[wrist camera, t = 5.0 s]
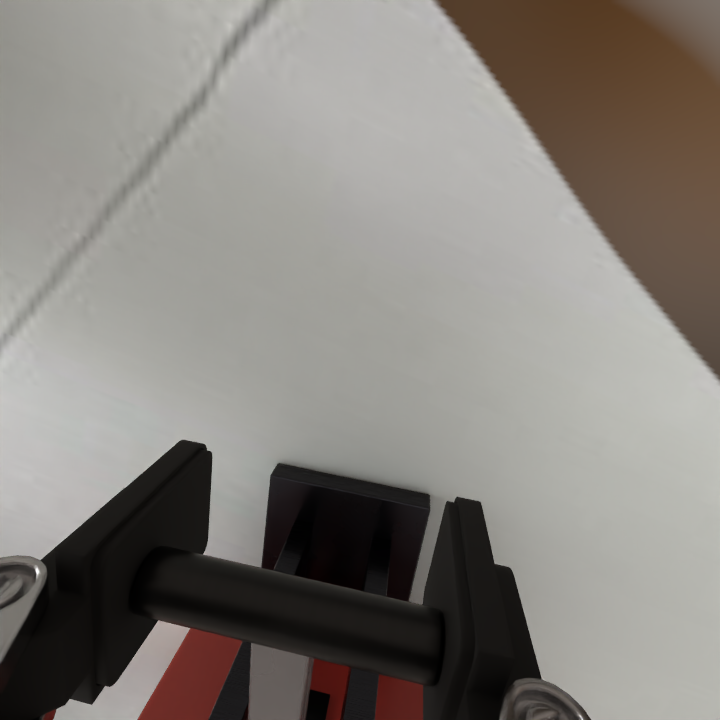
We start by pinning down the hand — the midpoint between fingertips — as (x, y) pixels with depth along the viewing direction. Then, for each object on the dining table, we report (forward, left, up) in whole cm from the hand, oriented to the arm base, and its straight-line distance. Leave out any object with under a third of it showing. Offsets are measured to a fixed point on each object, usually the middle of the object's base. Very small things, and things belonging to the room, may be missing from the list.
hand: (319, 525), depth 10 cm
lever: (+5, -1, +1) cm, 5 cm away
